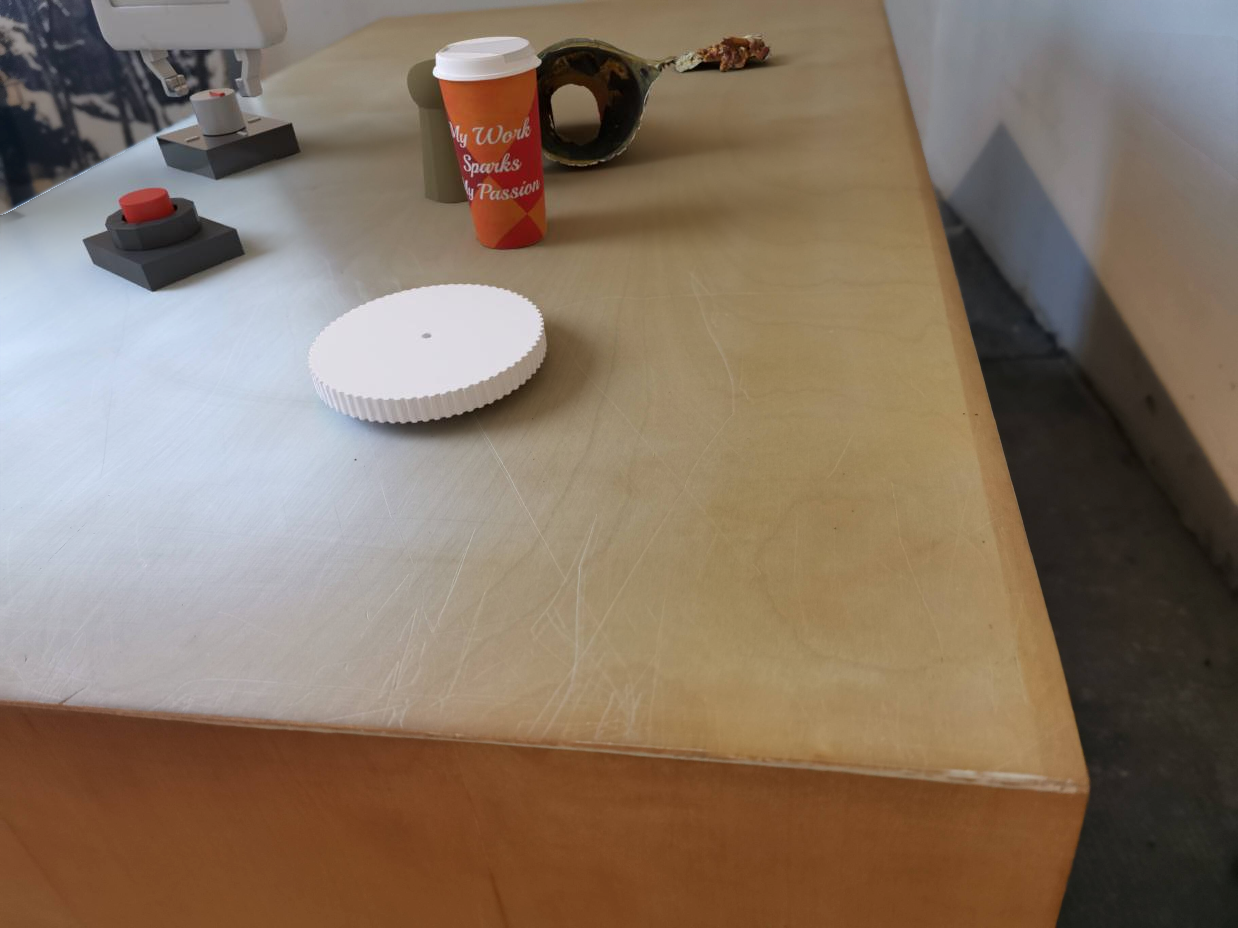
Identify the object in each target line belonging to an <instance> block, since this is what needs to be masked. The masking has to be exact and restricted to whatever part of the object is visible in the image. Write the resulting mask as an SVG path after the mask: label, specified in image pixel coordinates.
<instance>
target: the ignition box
mask: <svg viewBox="0 0 1238 928" xmlns="http://www.w3.org/2000/svg"><path fill="white" fill-rule="evenodd" d="M170 199H171V202H172V204H173V207H174V209H175V212H173V213H172V214H170V215H168V216H165V217H162V218H159V219H156V220H152V221H147V222H141V223H127V221H126V218H125V216H124V214H123V211H122V209H121V208H120V209H118V210H116V211H115V212H113V213H112V214H110V215H108V216H106V220H105V223H104V226H105V228H106V230H105V231H102V232H98V233H96V234H94V235H90V236H88V237H84V238H83V239H82V240H81V241H82V243H83V245H84V247H85V249H86V251H87V252H88V255H89V257H90V259H91V262H92V264H93V265H94V266H96V267H98V268H101V269H102V270H105V271H107V272H109V273H111V274H113V275H116V276H118V277H120V278H121V279H124V280H126V281H128V282H130V283H133V284H135V285H137V286H139V287H141V288H143V289H145V290H147V291H150V292H152V293H153V292H156V291H158V290H160V289H163V288H165V287H168V286H171V285H173V284H176V283H178V282H180V281H183V280H185V279H187V278H191V277H193V276H195V275H198V274H199V273H202V272H205V271H207V270H210V269H212V268H214V267H217V266H219V265H222V264H224V263H226V262H230V261H231V260H232V261H233V259H236V258H239V257H241V256H244V255H245V254H246V253H245V250H244V247H243V244H242V242H241V239H240V236H239V233H238V230H237V229H236V228H234V227H232V226H230V225H226V224H223V223H221V222H218V221H215V220H213V219H209V218H206V217H205V216H201V215H199V213H198V210H197V208H196V205H195V203H194V200H191V199H188V198H185V197H170Z"/></svg>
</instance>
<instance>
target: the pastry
mask: <svg viewBox="0 0 1238 928" xmlns="http://www.w3.org/2000/svg"><path fill="white" fill-rule="evenodd" d="M762 36H763V34H758V33H757V34H748V35H745V36H742V37H741V36H730V35H729V36H727V37H722V40H721V41H720V43H713V45H709V46H707V47H706V48H698V49H697V50H696V52H694V51H690V52H687V53H682V55H680V57H678V58H676V59H677V61H676V65H675V64H674V66H675V69H676V71H677V72H679V73H682V72H684V71H687V70H692V69H693V68H695V67H697V66H698V65H699V64H700V63H702V62H703V63H706V62H707V63H710V62H716V61H717V62H720V63H719V71H720V72H721V71H722V72H723V71H726V70H727V71H729V70H730V68H732V69H737V68H738V69H741V68H744V66H745V64H746V61H747V60H749V59H751V58H752V57H753V56H754V57H756V58H757V59H758V60H759V61H765V60H767V59H768V58H769V57H770V56H772V50H771V48H772V45H771V44H769V45H767V46H766V43H765V41H764V40H763V38H762ZM727 71H726V72H727Z"/></svg>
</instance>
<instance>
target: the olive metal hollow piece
mask: <svg viewBox="0 0 1238 928" xmlns="http://www.w3.org/2000/svg"><path fill="white" fill-rule="evenodd" d="M536 56H537V57H538V59H540V60H541V64H540V65H539V66H538V67H536V78H537V92H538V106H539V120H540V134H541V148H542V155H544V156H545V157H546V158H547V159H548V160H550V161H553V162H560V164H564V165H568V166H577V167H584V166H585V167H587V166H588V165H589V166H592V165H596V164H598V162H606V161H610V160H611V159H613V158H614V157H615V156H619V155H620V154H622V153H623V152H624V151H625V150H627V146H629V145H630V144H631V142H632V141H633V140H634V139H635V136H636V132H637V131H638V130H640V129H641V128H640V126H642V123H641V122H642V120H643V116H644V113H646V112H645V109H646V107H647V106H648V102H649V98H650V91H651V90H652V86H653V84H654V83H655V82H656V81H657V80H658V79H659V78H660V77H661V76H662V72H663V70H666V69H667V67H669V68H671V65H674V66H675V65H676V61H677V59H678V58H679V57H678V56H676V55H675V56H674V55H673V56H672V55H669V56H668V57H665V58H663V59H659V60H656V59H646V58H643V57H640V56H637V55H635V54H633V53H630V52H628V51H626V50H624V49H620V48H618V47H616V46H615V45H614V44H610V43H609V42H606V41H604V40H601V39H600V40H599V39H595V38H594V39H592V38H589V37H574V38H573V37H572V38H566V39H563V40H559V41H558V42H555V43H553V44H550V45H548V46H547V47H545V48H543V49H542V50H541V51H539V53H537V54H536ZM666 66H667V67H666ZM568 85H574V86H578V87H584V88H586V89H587V90H588V91H589V92H590V93H591V94H592V96H593V97H594V99H595V102H596V106H597V112H598V115H599V122H600V124H599V127H598V132H597V134H596V137H595V138H593V139H592V140H591V139H590V141H587V142H585V143H583V144H581V145H580V144H579V143H577V142H575V141H573V140H571V139H569V138H567V137H565V136H563V135H561V134H559V133H557V130H556V125H555V117H554V111H553V104H552V97H553V95H554V94H555V92H557V91H558V90H559V89H560V88H562V87H564V86H568Z"/></svg>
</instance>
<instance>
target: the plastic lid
mask: <svg viewBox="0 0 1238 928" xmlns="http://www.w3.org/2000/svg"><path fill="white" fill-rule="evenodd" d="M547 347H548V344H547V336H546V330H545V323H544V318H543V314H542V313H541V310H540V309H539V308H538V307H537V305H536V304H534V302H533V301H531V300H529V298H528V297H524V295H522V294H518V293H517V292H515V291H514V292H512V290H510V289H505V288H503V287H500V288H497V286H495V285H494V286H493V285H492V286H489V285H487V284H484V285H481V284H480V283H479V284H478V283H476V284H472V283H467V284H464V283H458V284H454V283H449V284H443V283H442V284H439V285H434V284H433V285H430V286H421V287H419V288H416V287H414V288H411V289H409V290H407V289H405V290H402V291H401V292H393V293H392V294H387V295H383V296H382V297H377V298H375V299H374V300H371V301H370V300H369V301H367V302H366V303H365V304H360V305H358V307H357V308H352V309H350V310H349V312H345V313H343V314H342V316H339V317H337V318H335V321H331V322H330V323H329V325H327V326H325V327H324V329H323V330H321V331H320V332H319V335H317V336H316V337H315V340H314V341H312V343H311V345H310V347H309V351H307V355H308V356H307V357H306V358H307V366H308V370H309V373H310V377H311V378H312V382H313V385H314V388H315V390H316V392H317V395H318V396H319V397H320V399H321V401H322V402H323V401H324V404H325V405H327V406H329V408H330V409H332V410H334V409H335V411H336V412H337V413H342V414H343V415H344V416H350V418H353V419H356V418H359V420H360V421H366V420H368V422H370V423H371V422H372V423H374V422H376V421H377V422H379V424H380V423H381V424H384V423H386V422H389V424H396V423H400V424H406V423H408V422H411V423H412V424H415V423H418V422H419V421H420V422H421V421H423V422H425V423H426V422H429V421H430V420H435V421H437V420H441V419H442V418H446V419H447V418H452V416H454V415H457V416H460V415H463V414H464V413H465V412H468V413H470V412H473V411H474V410H475V409H481V408H484V407H485V405H487V404H489V405H491V404H493V403H494V401H496V400H502V399H503V398H504V396H508V395H511V393H512V391H517V390H518V389H519V387H520V385H521V386H522V385H525V384H526V381H527V380H530V379H531V378H532V375H534V374H536V373H537V369H539V368H541V364H543V362H544V358H546V353H547Z"/></svg>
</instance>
